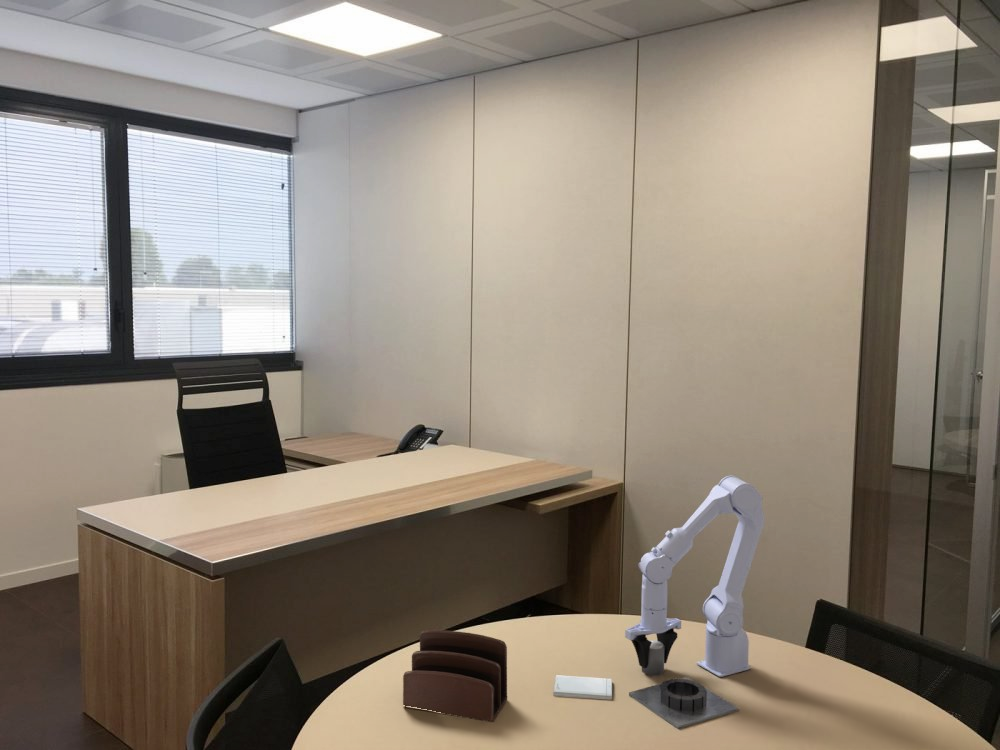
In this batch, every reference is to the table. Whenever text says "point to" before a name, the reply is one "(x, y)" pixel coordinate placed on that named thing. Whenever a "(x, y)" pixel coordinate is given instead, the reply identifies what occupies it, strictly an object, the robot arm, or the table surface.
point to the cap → (655, 659)
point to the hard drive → (583, 687)
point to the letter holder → (458, 675)
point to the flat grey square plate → (683, 702)
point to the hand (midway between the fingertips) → (652, 664)
